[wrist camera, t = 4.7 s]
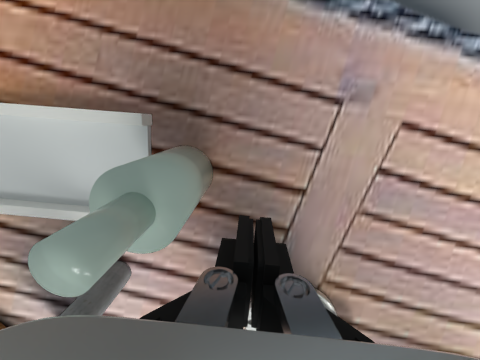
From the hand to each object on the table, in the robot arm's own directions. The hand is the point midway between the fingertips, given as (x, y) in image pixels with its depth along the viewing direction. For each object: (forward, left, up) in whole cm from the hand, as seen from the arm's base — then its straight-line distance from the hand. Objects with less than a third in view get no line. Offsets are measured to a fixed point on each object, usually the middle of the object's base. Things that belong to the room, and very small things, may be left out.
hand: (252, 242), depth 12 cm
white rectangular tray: (+23, 0, -15) cm, 27 cm away
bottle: (+8, 0, -15) cm, 17 cm away
